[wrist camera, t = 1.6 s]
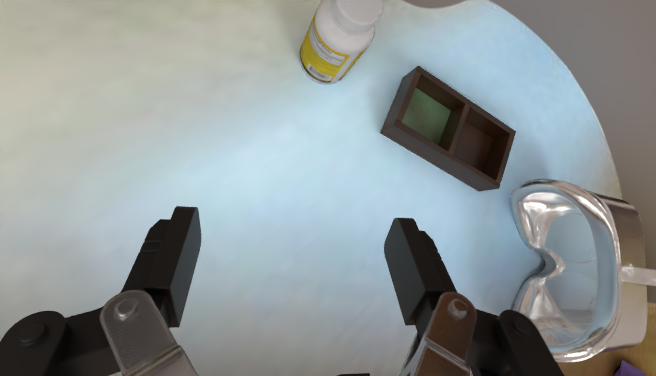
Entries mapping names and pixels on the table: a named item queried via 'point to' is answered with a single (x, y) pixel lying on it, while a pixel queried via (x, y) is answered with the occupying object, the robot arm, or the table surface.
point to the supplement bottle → (338, 38)
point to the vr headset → (582, 269)
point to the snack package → (628, 370)
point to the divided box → (449, 130)
